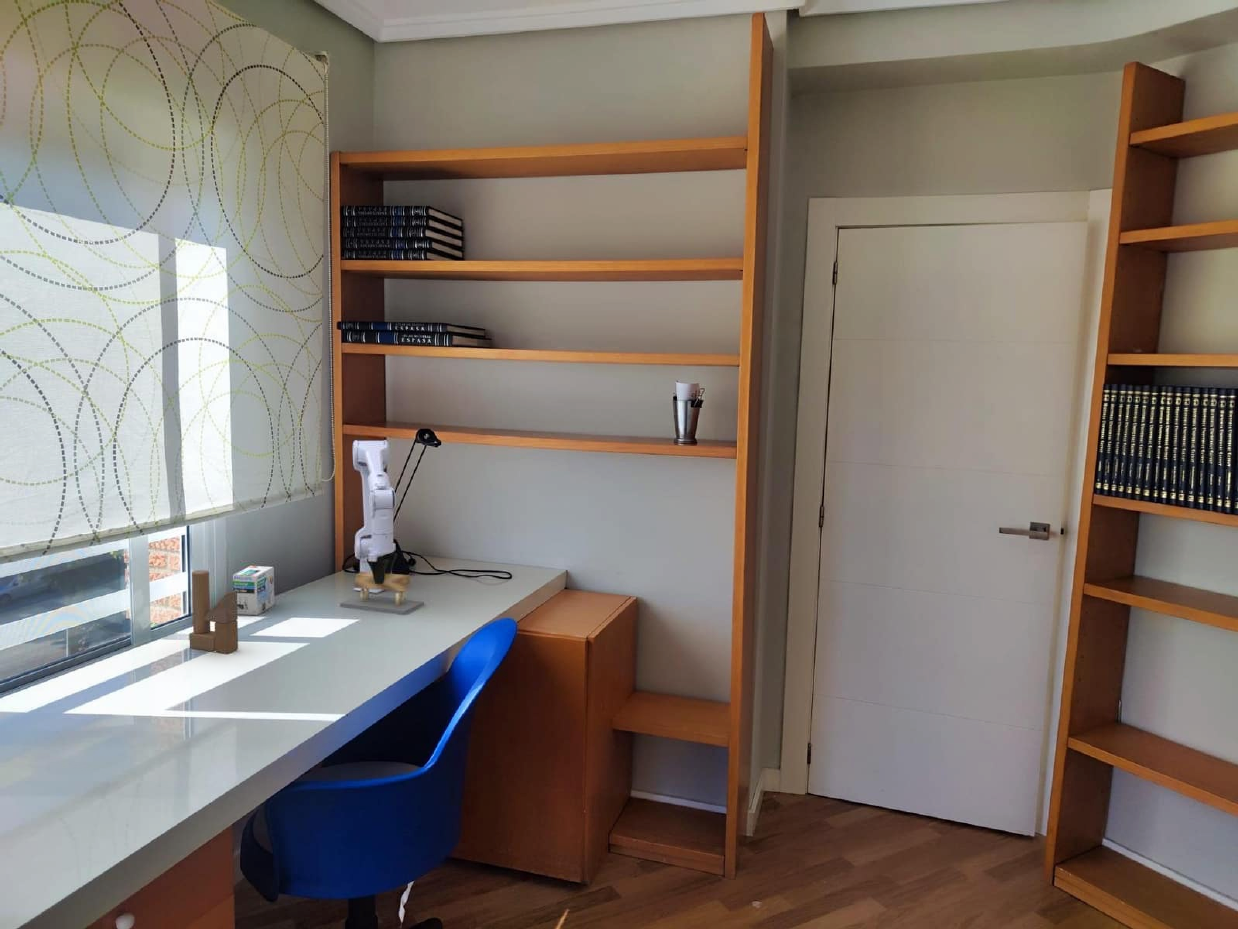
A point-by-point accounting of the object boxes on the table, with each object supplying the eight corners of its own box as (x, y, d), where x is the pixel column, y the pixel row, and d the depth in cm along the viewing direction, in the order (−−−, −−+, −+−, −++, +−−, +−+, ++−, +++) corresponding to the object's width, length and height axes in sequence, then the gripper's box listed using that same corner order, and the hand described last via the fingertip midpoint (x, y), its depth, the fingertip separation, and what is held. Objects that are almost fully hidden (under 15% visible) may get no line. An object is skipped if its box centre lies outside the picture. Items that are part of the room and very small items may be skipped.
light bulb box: (258, 616, 222) (257, 575, 221) (232, 615, 222) (231, 574, 221) (275, 604, 233) (274, 566, 231) (250, 603, 233) (250, 565, 232)
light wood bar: (409, 587, 235) (409, 575, 235) (404, 591, 231) (404, 578, 231) (361, 584, 237) (361, 571, 236) (355, 587, 233) (355, 575, 232)
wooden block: (227, 654, 193) (225, 577, 191) (189, 648, 196) (187, 572, 194) (239, 649, 196) (237, 573, 194) (201, 643, 199) (199, 568, 197)
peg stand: (361, 597, 242) (361, 582, 242) (423, 605, 236) (423, 589, 236) (340, 606, 233) (340, 590, 232) (404, 614, 227) (404, 598, 226)
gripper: (378, 527, 240) (378, 574, 241) (357, 537, 225) (357, 587, 227) (402, 528, 239) (402, 575, 241) (383, 538, 225) (383, 588, 226)
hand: (382, 581), depth 234 cm, fingers closed on light wood bar, 4 cm apart
